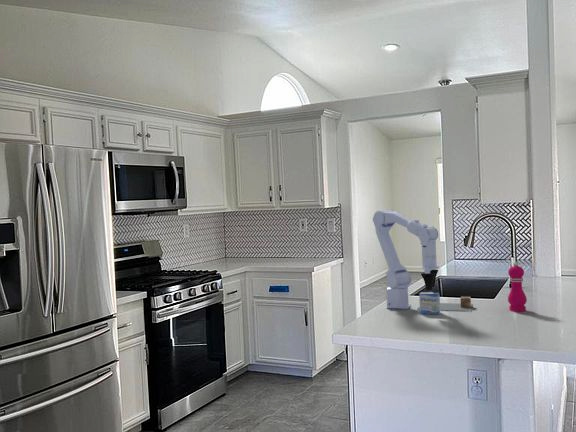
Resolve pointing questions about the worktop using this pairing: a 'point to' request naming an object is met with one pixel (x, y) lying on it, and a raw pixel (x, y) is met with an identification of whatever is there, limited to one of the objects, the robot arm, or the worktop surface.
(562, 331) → the worktop surface
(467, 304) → the walnut block
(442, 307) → the mat
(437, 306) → the medicine box
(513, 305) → the pepper mill
